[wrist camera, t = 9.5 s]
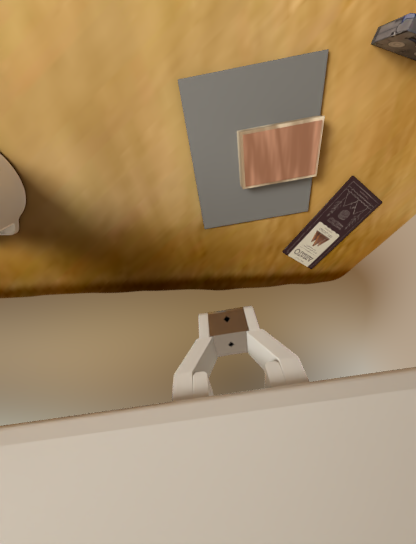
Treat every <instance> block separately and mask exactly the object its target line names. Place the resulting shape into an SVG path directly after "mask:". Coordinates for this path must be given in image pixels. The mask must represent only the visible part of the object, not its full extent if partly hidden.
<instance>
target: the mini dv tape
mask: <svg viewBox="0 0 416 544" xmlns="http://www.w3.org/2000/svg"><path fill="white" fill-rule="evenodd" d="M371 44H372V45H375V46H377V47H380V48H383V49H386V50H388V51H391V52H394V53H396V54H399V55H402V56H405V57H407V58H410V59H413V60H416V14H415V13H409V14H407V15H405V16H403V17H401V18H398V19H396V20H394V21H392V22H389V23H387V24H385V25H383V26H380V27H378V29H377V32H376V34H375V36H374V38H373V40H372V43H371Z"/></svg>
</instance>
